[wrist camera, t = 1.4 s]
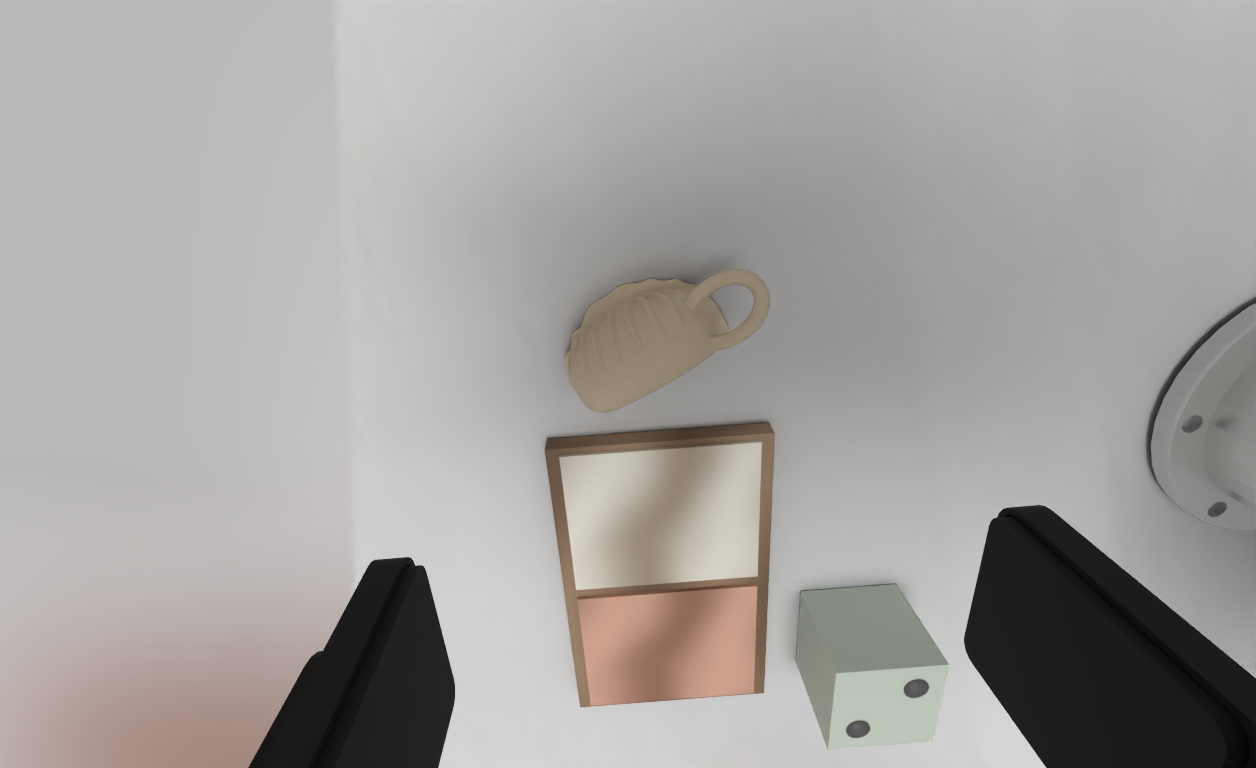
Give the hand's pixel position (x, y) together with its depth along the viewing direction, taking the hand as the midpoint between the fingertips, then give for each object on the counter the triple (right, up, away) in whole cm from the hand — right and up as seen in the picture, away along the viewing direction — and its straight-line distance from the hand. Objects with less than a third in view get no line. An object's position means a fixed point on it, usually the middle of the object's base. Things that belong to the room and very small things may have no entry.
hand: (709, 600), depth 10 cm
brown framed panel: (0, -6, +20) cm, 20 cm away
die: (+10, -9, +21) cm, 25 cm away
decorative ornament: (0, +6, +15) cm, 16 cm away
